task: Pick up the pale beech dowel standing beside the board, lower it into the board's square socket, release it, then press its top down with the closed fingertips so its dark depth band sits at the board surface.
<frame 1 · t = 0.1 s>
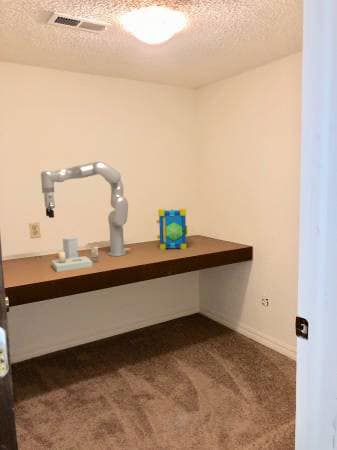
hand: (50, 216, 238), 31 cm above the table, fingers open, 9 cm apart
skincare box: (71, 259, 254), on the table
board: (72, 266, 234), on the table
decorative book: (172, 248, 280), on the table
peg: (95, 261, 244), on the table
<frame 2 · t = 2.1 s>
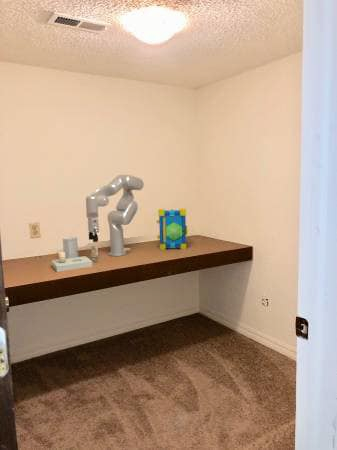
hand: (93, 240, 241), 15 cm above the table, fingers open, 9 cm apart
nothing on the table moved.
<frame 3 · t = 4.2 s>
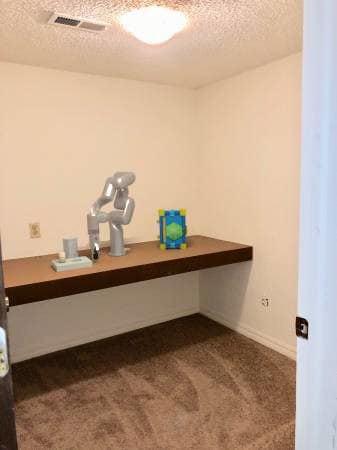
hand: (95, 258, 244), 2 cm above the table, fingers closed on peg, 4 cm apart
peg: (95, 261, 244), on the table, touching gripper
everything else where it was.
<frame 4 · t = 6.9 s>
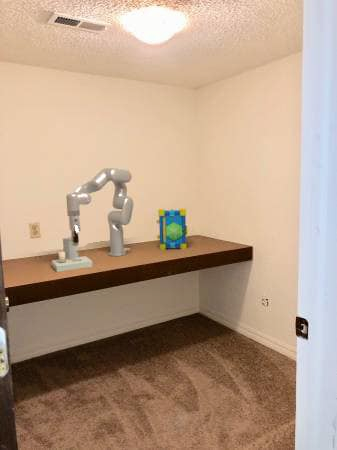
hand: (75, 241, 233), 16 cm above the table, fingers closed on peg, 4 cm apart
peg: (75, 245, 233), point 14 cm above the table, touching gripper
everything else where it was.
when the fingers open (5 cm above the table, at t = 9.5 s): peg drops 2 cm, resting in board.
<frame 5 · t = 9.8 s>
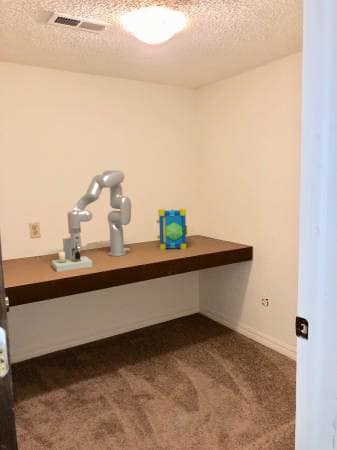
hand: (76, 257, 235), 5 cm above the table, fingers open, 7 cm apart
peg: (76, 265, 236), resting in board
everything else where it was.
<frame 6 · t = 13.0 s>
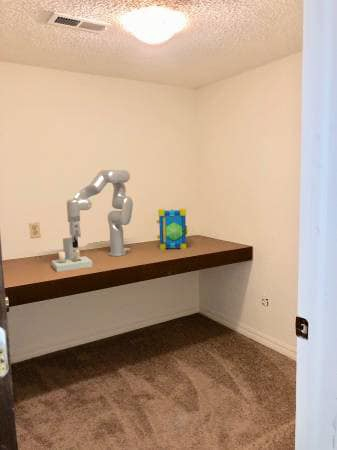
hand: (75, 247, 233), 12 cm above the table, fingers closed
nothing on the table moved.
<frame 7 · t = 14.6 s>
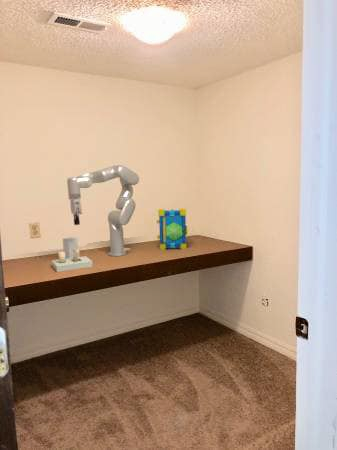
hand: (77, 224, 239), 26 cm above the table, fingers closed
nothing on the table moved.
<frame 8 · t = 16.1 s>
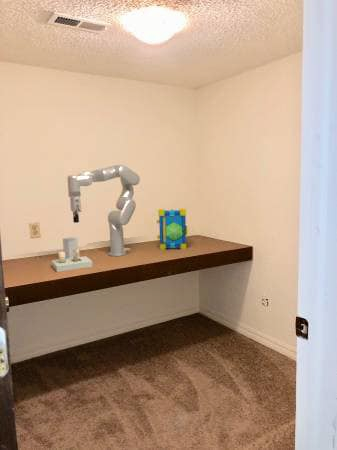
hand: (76, 222, 239), 27 cm above the table, fingers closed
nothing on the table moved.
at the end: peg 0.0 cm from the target spot on the board, point 0.0 cm above the board's base; peg tilted 0°; the gripper is holding nothing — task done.
